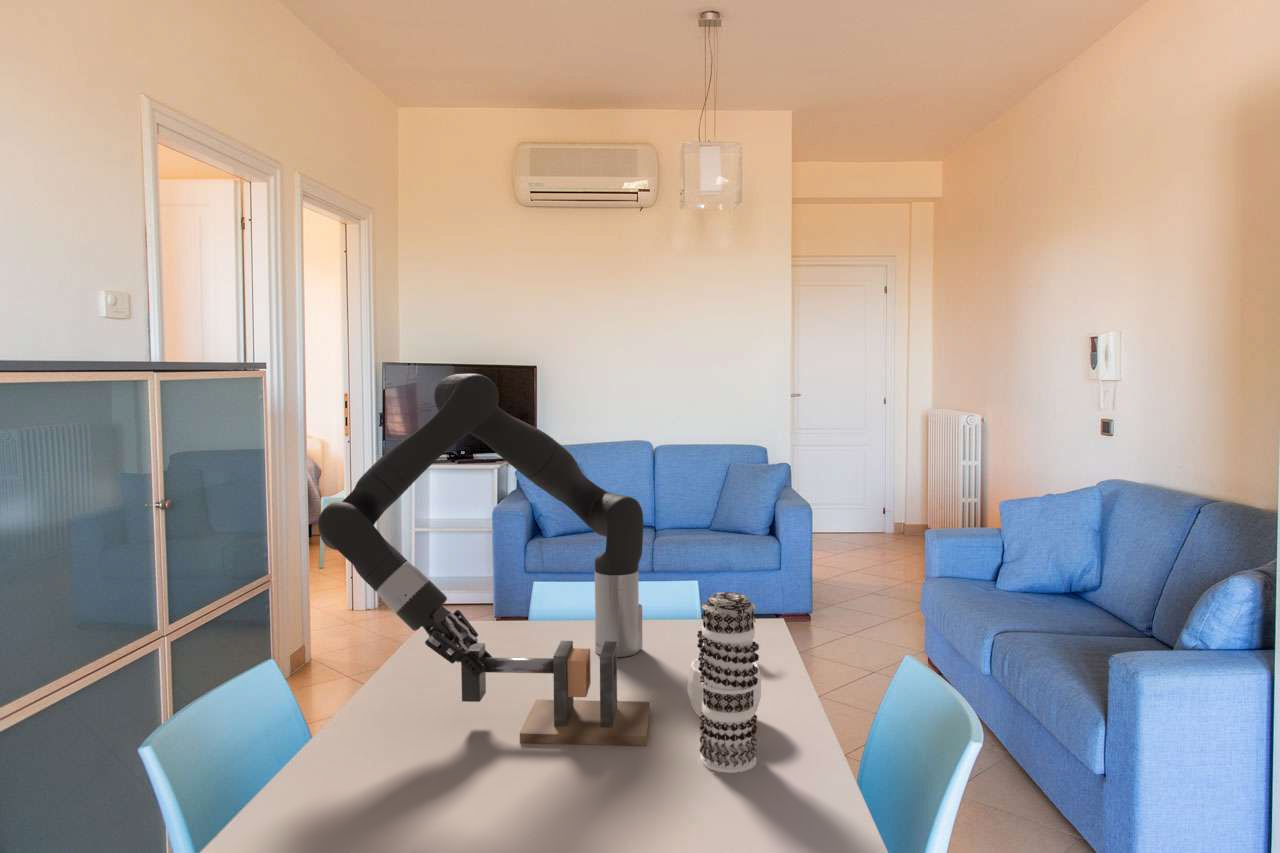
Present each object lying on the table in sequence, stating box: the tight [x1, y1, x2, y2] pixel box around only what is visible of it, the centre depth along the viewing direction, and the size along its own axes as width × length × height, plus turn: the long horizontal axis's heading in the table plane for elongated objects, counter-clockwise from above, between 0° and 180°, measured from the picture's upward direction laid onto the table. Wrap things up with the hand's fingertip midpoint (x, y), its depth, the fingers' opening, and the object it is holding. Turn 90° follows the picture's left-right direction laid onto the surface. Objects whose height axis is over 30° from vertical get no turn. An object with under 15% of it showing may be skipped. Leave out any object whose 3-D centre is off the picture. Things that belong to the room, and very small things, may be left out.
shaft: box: [460, 642, 554, 703], centre depth 138 cm, size 18×4×8 cm, turn 86°
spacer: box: [567, 647, 592, 698], centre depth 137 cm, size 3×6×6 cm, turn 177°
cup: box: [687, 656, 762, 718], centre depth 139 cm, size 12×12×10 cm
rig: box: [519, 640, 651, 746], centre depth 137 cm, size 20×14×13 cm
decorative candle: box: [696, 591, 760, 774], centre depth 124 cm, size 9×9×25 cm
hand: (484, 667), depth 138 cm, fingers closed on shaft, 4 cm apart
